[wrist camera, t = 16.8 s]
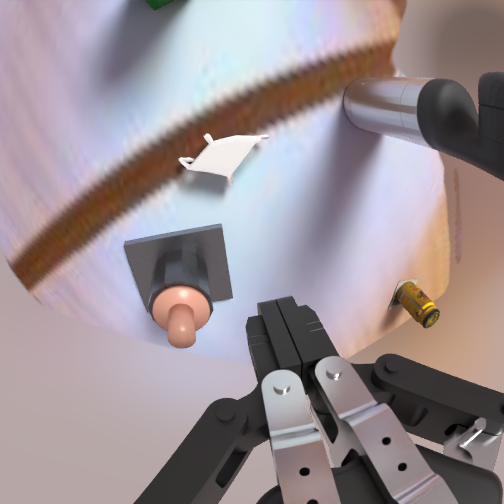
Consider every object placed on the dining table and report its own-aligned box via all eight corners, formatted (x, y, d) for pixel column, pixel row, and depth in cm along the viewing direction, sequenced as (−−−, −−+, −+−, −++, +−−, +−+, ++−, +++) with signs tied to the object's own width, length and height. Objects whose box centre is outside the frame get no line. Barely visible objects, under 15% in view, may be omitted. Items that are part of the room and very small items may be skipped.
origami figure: (211, 195, 43) (214, 206, 38) (176, 155, 38) (174, 161, 34) (274, 148, 41) (285, 153, 37) (242, 104, 37) (249, 104, 33)
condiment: (418, 278, 63) (447, 306, 52) (407, 304, 67) (432, 333, 56) (398, 281, 61) (427, 311, 51) (387, 308, 65) (413, 340, 55)
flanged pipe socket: (221, 223, 45) (230, 256, 36) (231, 293, 52) (241, 332, 43) (125, 241, 43) (111, 277, 34) (148, 307, 50) (143, 348, 41)
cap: (202, 270, 39) (207, 310, 32) (211, 313, 43) (218, 354, 36) (147, 280, 38) (141, 320, 31) (162, 321, 42) (161, 362, 35)
